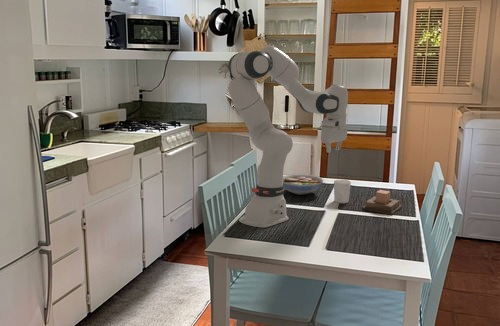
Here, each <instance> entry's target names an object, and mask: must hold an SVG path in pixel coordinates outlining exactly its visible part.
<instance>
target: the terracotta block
mask: <svg viewBox="0 0 500 326" xmlns="http://www.w3.org/2000/svg"><path fill="white" fill-rule="evenodd" d="M375 196H376V201H375V202H378V203H383V204H389V203H390V199H391V191H389V190H383V189H379V190H377V191H376V192H375Z"/></svg>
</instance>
